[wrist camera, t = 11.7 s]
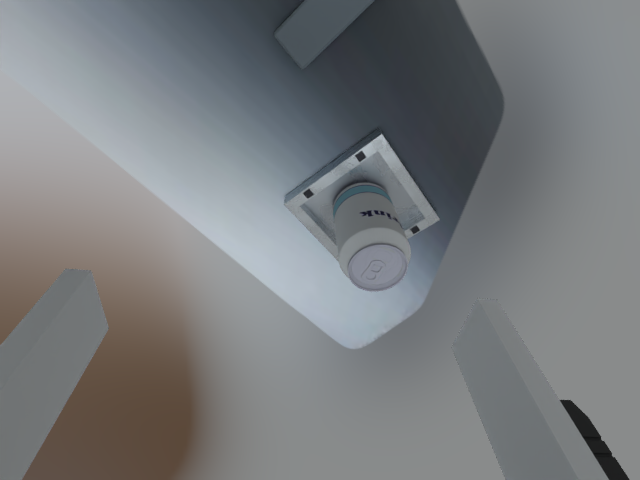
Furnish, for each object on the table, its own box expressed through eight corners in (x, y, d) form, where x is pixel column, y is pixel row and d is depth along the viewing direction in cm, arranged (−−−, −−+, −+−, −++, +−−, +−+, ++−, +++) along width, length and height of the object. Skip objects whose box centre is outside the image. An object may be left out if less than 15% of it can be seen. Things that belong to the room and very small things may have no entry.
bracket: (273, 32, 33) (272, 35, 31) (364, -65, 29) (367, -68, 27) (302, 67, 35) (302, 71, 33) (391, -20, 31) (396, -20, 29)
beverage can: (400, 190, 42) (430, 252, 32) (373, 236, 45) (392, 304, 35) (347, 169, 40) (360, 228, 30) (323, 219, 44) (328, 285, 34)
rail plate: (284, 196, 42) (284, 204, 40) (378, 127, 38) (381, 134, 36) (348, 263, 48) (349, 273, 46) (434, 211, 44) (440, 220, 42)
